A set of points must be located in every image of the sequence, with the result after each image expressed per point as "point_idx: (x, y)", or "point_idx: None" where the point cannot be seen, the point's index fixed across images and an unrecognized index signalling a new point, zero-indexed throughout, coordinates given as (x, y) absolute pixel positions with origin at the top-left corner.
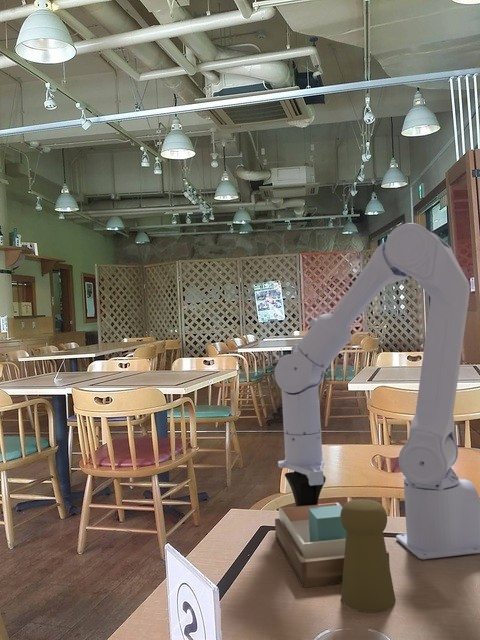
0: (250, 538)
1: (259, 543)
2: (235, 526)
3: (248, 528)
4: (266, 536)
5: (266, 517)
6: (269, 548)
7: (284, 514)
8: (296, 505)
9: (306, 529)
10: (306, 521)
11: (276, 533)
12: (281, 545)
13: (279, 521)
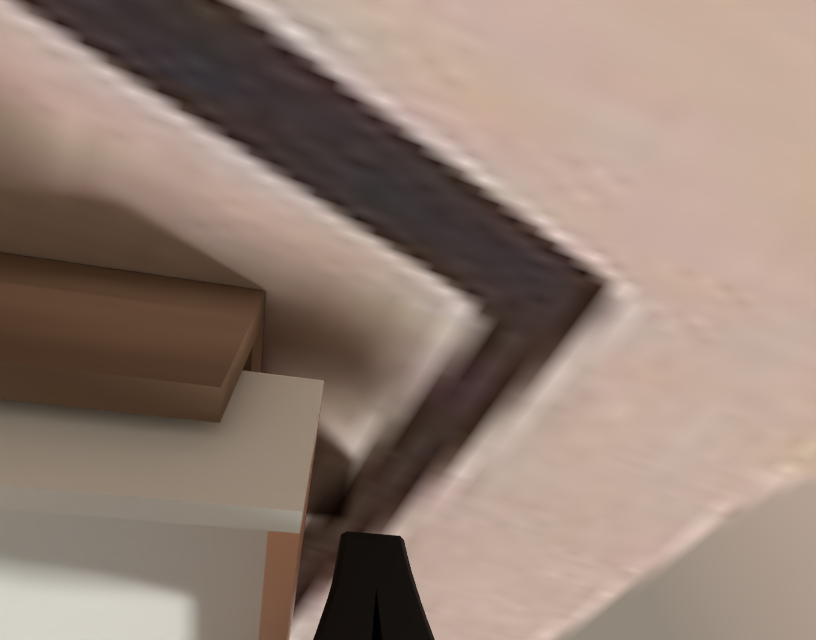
0: (374, 97)
1: (221, 133)
2: (752, 66)
3: (620, 169)
4: (361, 246)
5: (738, 376)
6: (78, 175)
7: (38, 501)
8: (398, 632)
9: (46, 517)
10: (239, 562)
11: (211, 313)
12: (3, 269)
13: (113, 401)
